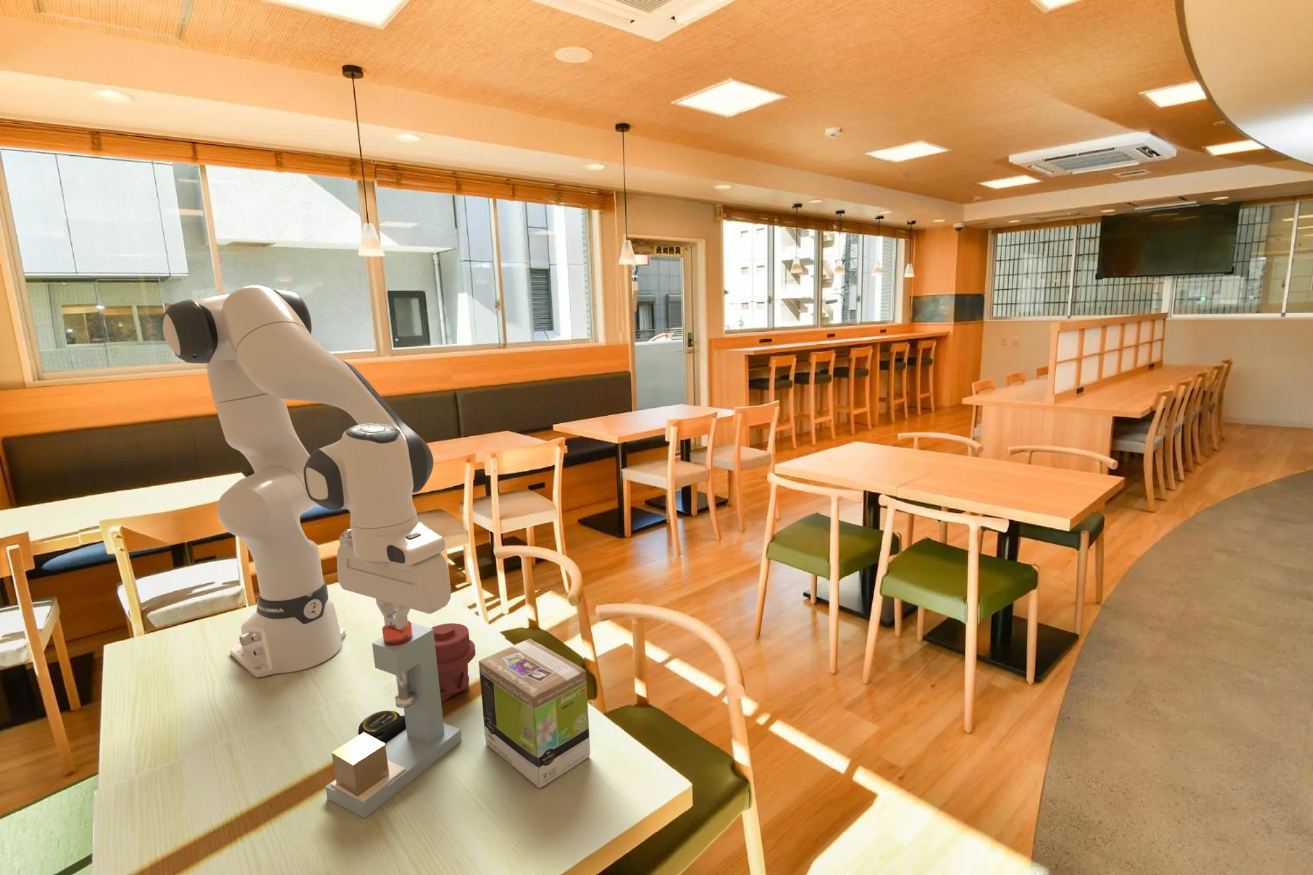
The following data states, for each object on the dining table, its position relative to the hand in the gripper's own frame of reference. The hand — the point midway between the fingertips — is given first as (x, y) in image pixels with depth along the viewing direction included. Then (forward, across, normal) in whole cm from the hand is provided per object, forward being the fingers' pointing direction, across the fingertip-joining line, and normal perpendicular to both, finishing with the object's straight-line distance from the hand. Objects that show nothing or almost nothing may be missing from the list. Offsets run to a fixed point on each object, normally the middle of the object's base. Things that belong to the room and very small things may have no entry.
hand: (396, 626), depth 96 cm
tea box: (+22, +16, +10) cm, 29 cm away
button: (+13, 0, 0) cm, 13 cm away
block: (+20, 0, -8) cm, 21 cm away
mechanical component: (+22, -8, +15) cm, 28 cm away
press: (+22, 0, -3) cm, 22 cm away
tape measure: (+22, -7, +1) cm, 23 cm away
